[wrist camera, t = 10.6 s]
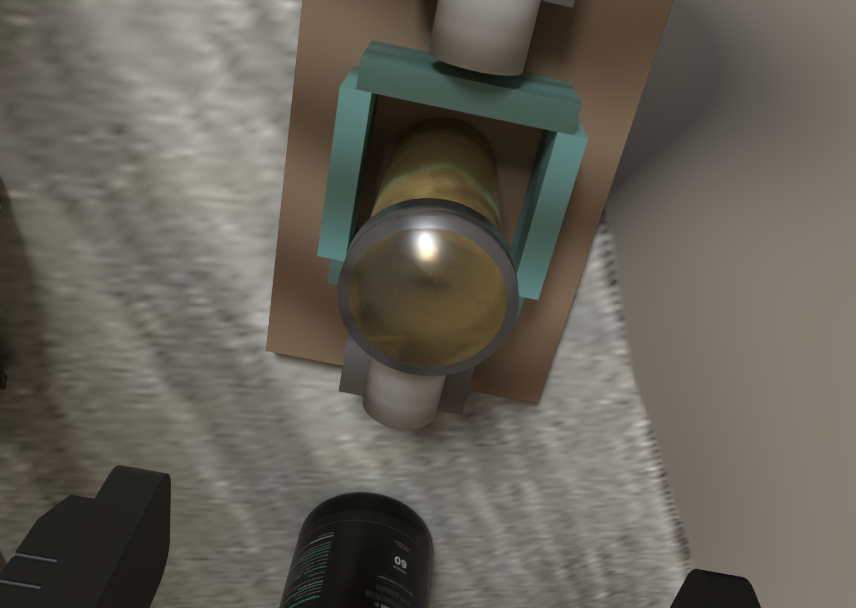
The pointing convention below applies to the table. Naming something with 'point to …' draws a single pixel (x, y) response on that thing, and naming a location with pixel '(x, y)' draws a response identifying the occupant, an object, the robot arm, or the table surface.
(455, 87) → the shaft bench
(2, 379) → the dark brown elongated piece
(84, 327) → the table surface
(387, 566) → the supplement bottle
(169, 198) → the table surface
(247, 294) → the table surface
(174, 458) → the table surface
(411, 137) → the cylinder
